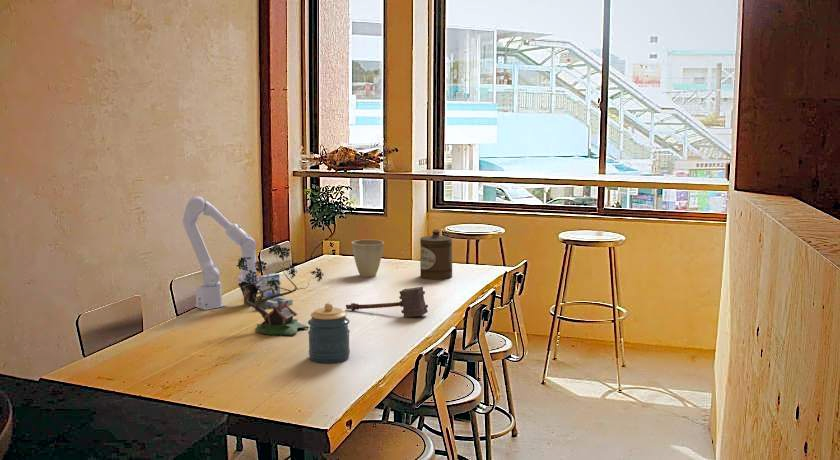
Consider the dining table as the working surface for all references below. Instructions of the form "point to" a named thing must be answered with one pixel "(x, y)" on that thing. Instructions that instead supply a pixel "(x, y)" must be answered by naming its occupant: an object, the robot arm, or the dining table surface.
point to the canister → (328, 335)
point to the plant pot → (367, 256)
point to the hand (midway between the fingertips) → (249, 301)
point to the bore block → (274, 301)
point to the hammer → (402, 303)
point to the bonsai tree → (282, 315)
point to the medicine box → (264, 283)
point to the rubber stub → (263, 305)
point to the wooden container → (436, 256)
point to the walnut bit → (247, 298)
